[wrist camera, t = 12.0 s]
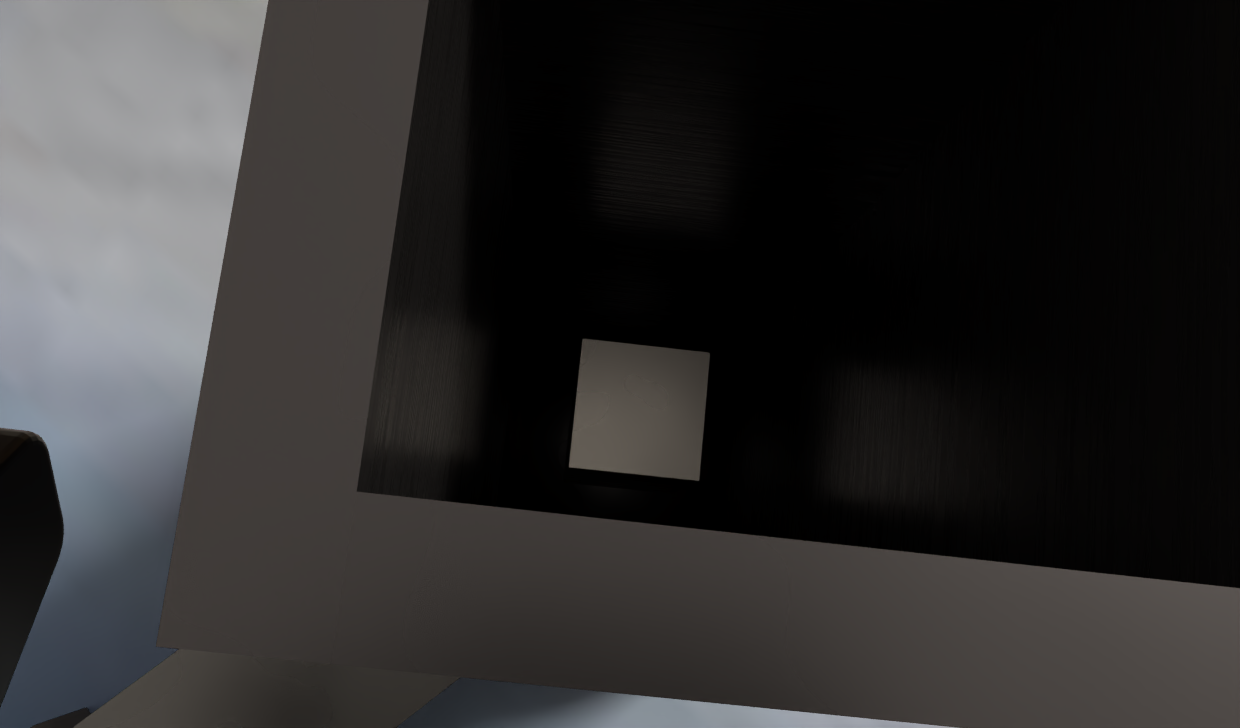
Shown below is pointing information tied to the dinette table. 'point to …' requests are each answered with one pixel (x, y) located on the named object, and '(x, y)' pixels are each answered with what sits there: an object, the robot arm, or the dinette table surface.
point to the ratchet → (529, 480)
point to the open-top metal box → (743, 351)
